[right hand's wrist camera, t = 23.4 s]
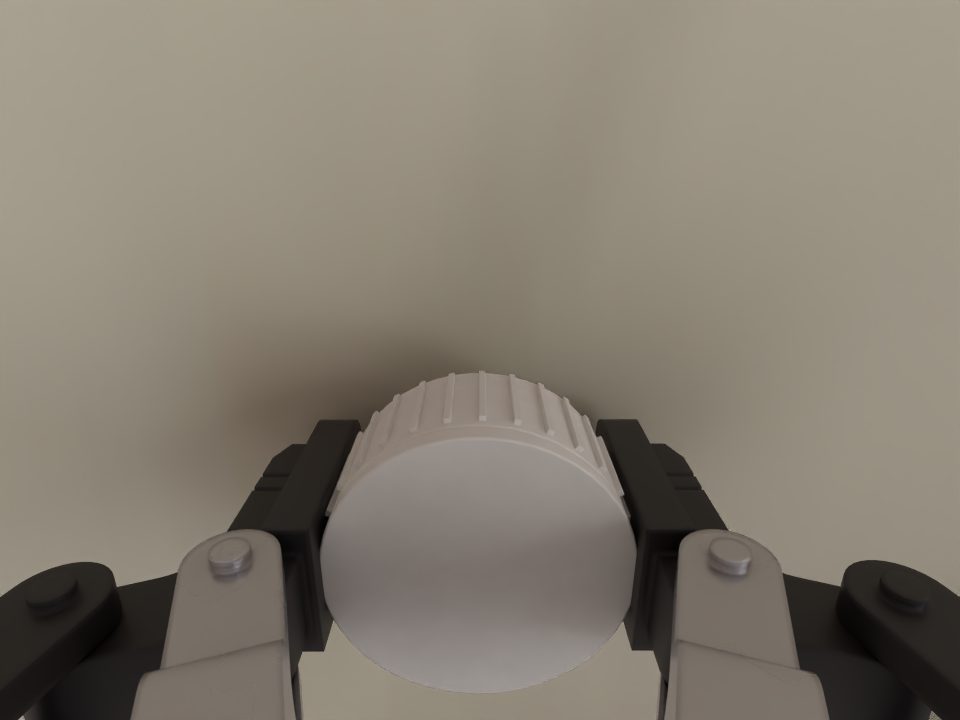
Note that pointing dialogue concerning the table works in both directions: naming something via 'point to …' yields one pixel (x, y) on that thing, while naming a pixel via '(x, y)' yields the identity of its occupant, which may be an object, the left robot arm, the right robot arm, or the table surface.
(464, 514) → the lid
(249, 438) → the table surface
